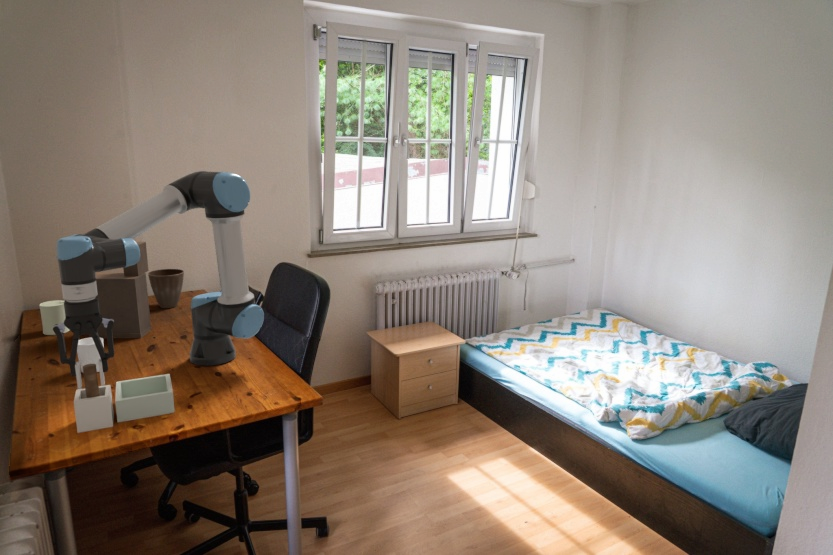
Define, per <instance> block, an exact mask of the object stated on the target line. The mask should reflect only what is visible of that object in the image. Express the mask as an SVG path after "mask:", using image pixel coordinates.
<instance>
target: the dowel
mask: <svg viewBox="0 0 833 555" xmlns="http://www.w3.org/2000/svg"><path fill="white" fill-rule="evenodd" d="M82 374H83V382H84V389H85V390H86V398H91V397H97V396H100V394H99V386H100V385H99V380H98V372H97V370H96V364H87V365H84V366H83V372H82Z"/></svg>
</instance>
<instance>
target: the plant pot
mask: <svg viewBox="0 0 833 555" xmlns="http://www.w3.org/2000/svg"><path fill="white" fill-rule="evenodd" d="M184 274H185V270H182V269H178V268H163V269H155V270H151V271H148V273H147V276H148V280H149V284H150V288H151V290H152V292H153V296H154V297H155V300H156V302H157V304H158V306H159V308H160V309H172V308H175V307H178V304H179V302H180V298H181V295H182V289H183V285H184Z"/></svg>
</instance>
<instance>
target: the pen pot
mask: <svg viewBox="0 0 833 555" xmlns="http://www.w3.org/2000/svg"><path fill="white" fill-rule="evenodd" d="M98 386H99V394H100V396H97V397H91V398H86V390H85V388H81V389H78V388H77V389H76V390H75V393H74V398H73V407H74V416H75V423H76V424H75V425H76V431H77V434H80V433H85V432H90V431H97V430H102V429H107V428H112V427H114V420H115V419H114V418H115V413H114V404H113V396H112V395H113V394H112V387H111V384H105V385H103V386H101V385H98Z"/></svg>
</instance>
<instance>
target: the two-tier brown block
mask: <svg viewBox="0 0 833 555" xmlns="http://www.w3.org/2000/svg"><path fill="white" fill-rule="evenodd" d="M136 243H137V244H138V246H139V249H140V259H139V261H138V263H137V264H135V265H132V266H128V267H126V268H124V267H123V268H122V270H123V272H95V275H96V284H97V293H98V295H97V296H96V297H97V298H98V302H99V310H100V314H101V316H102V317H103V318H105V319H111V318H112V319H113V320H114V323H113V327H112V334H113V339H142V338H144V336H145V335H147V334H148V333H149V332H150V331H151V330H152V322H151V316H150V315H151V314H150V303H149V294H148V285H147V283H148V282H147V272H150V271H149V260H148V253H147V243H146V241H136ZM106 329H107V328H106V327H104V324H103V323H101V324H100V325H99V327H98V328H97V332H98V335H99V337H100V338H103V339H107V333H106ZM88 336H89V338H90V337H91V334H89V335H88Z"/></svg>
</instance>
